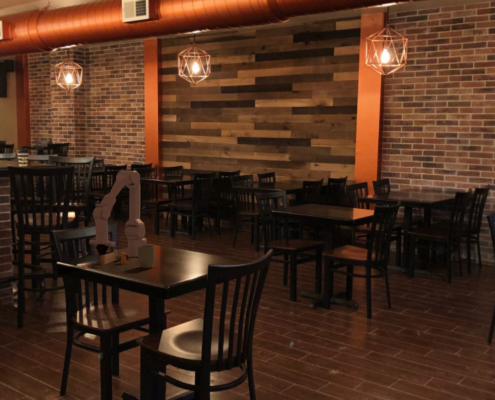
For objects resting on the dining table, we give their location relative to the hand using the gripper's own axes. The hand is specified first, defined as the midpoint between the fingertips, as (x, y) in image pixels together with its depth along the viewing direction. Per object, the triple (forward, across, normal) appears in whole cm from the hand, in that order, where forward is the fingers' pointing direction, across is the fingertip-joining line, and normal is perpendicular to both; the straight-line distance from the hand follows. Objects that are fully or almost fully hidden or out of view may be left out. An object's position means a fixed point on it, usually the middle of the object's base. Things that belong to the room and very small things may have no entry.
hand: (102, 260), depth 283 cm
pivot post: (+1, 0, +9) cm, 10 cm away
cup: (+2, +26, +1) cm, 26 cm away
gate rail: (+1, +1, +2) cm, 3 cm away
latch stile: (+1, +10, +4) cm, 10 cm away
